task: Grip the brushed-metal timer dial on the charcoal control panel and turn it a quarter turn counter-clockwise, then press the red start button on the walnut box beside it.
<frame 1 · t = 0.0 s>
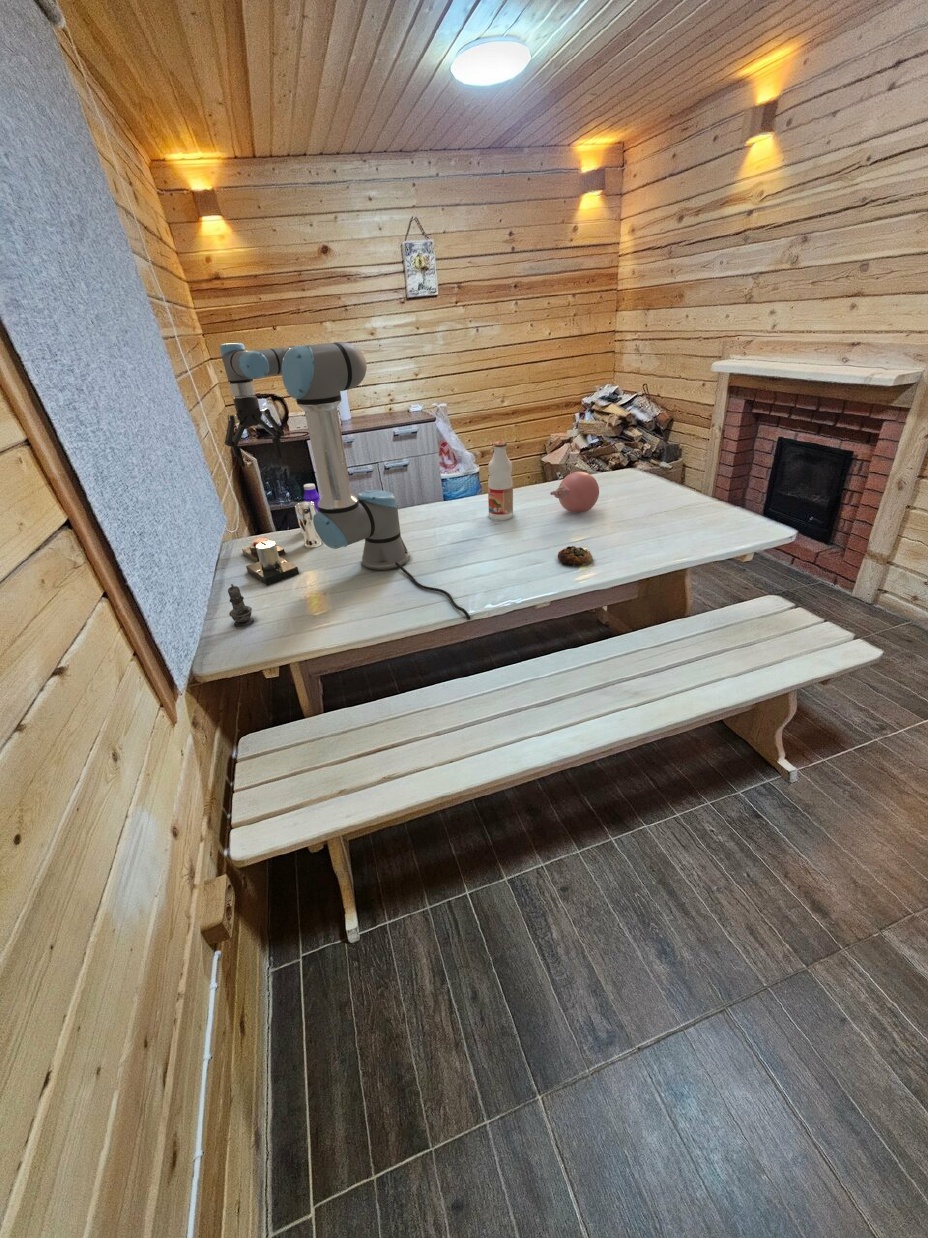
hand: (261, 461, 181), 28 cm above the table, tool pointing down, fingers open, 13 cm apart
balloon: (571, 513, 202), on the table
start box: (264, 554, 182), on the table
bottle: (318, 529, 200), on the table
fruit juice: (500, 516, 202), on the table
timer dial: (268, 555, 165), point 6 cm above the table, hinge at 0.0°
grey ringed upright piece: (244, 623, 143), on the table
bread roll: (575, 560, 166), on the table
start button: (261, 542, 180), point 5 cm above the table, slide at 0.1 cm
timer panel: (273, 573, 169), on the table
beer glass: (313, 544, 188), on the table
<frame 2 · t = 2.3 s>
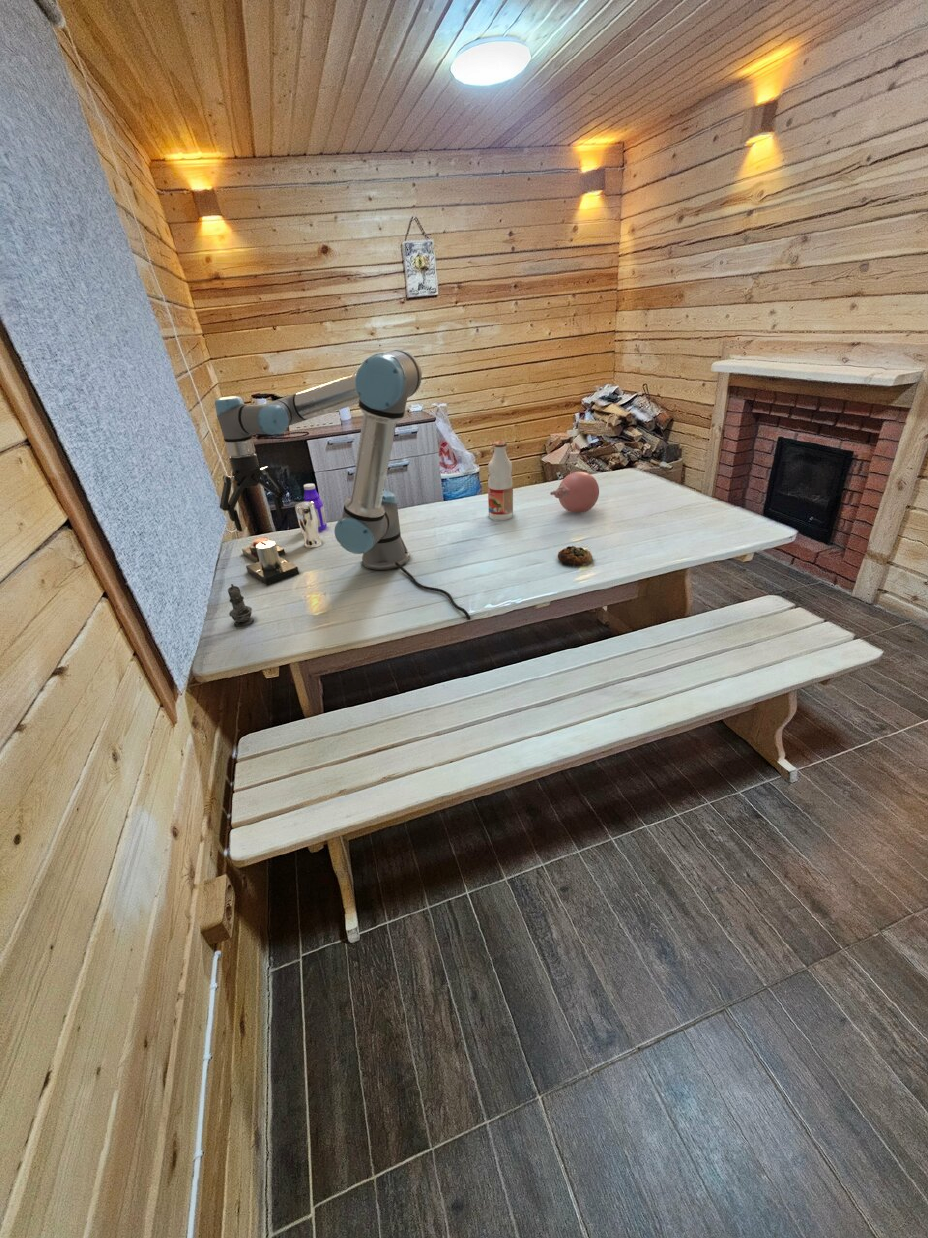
hand: (260, 524, 162), 16 cm above the table, tool pointing down, fingers open, 13 cm apart
nothing on the table moved.
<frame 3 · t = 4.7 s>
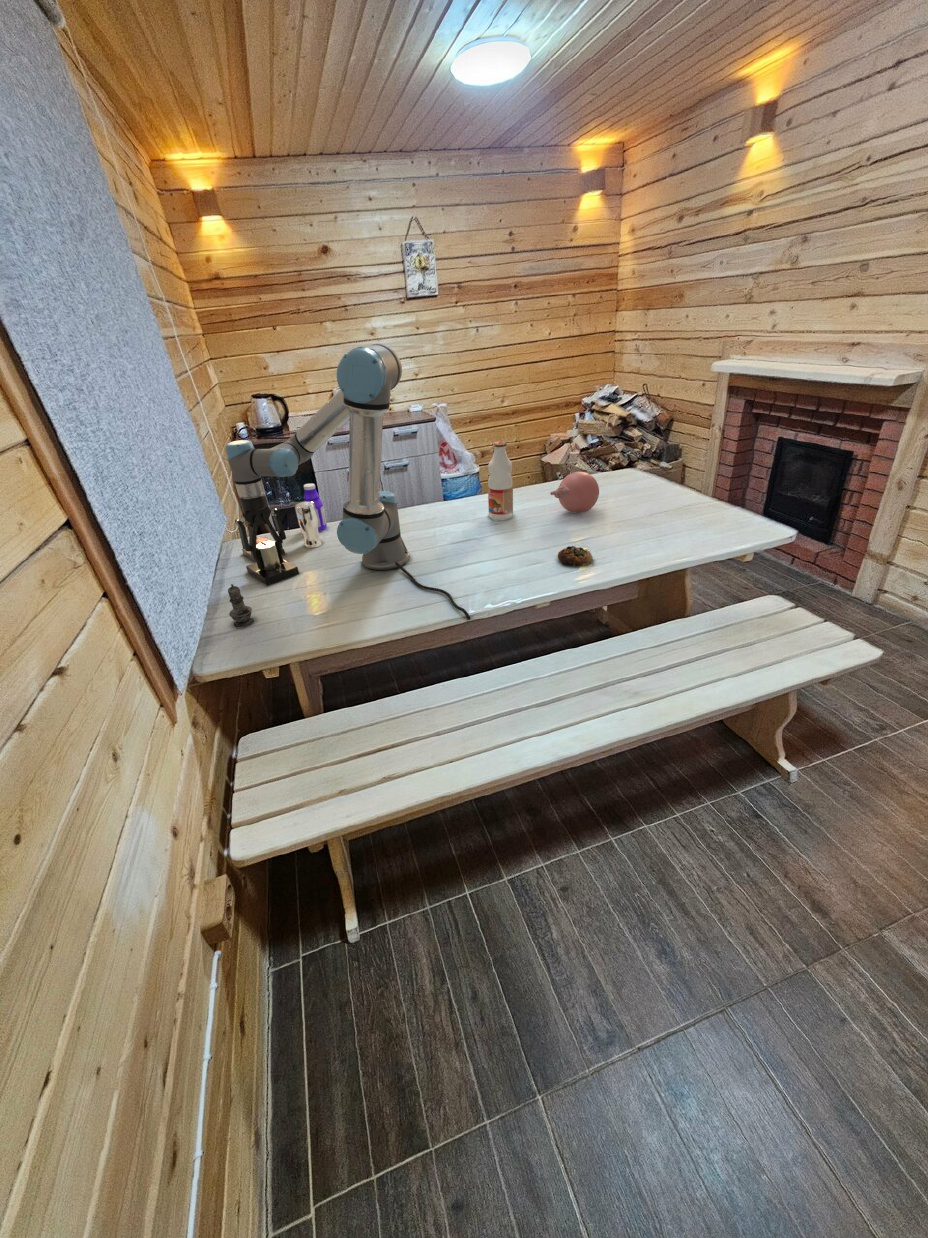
hand: (271, 565, 167), 3 cm above the table, tool pointing down, fingers closed on timer dial, timer panel, 6 cm apart
timer dial: (268, 555, 165), point 6 cm above the table, hinge at 0.0°, touching gripper
everything else where it was.
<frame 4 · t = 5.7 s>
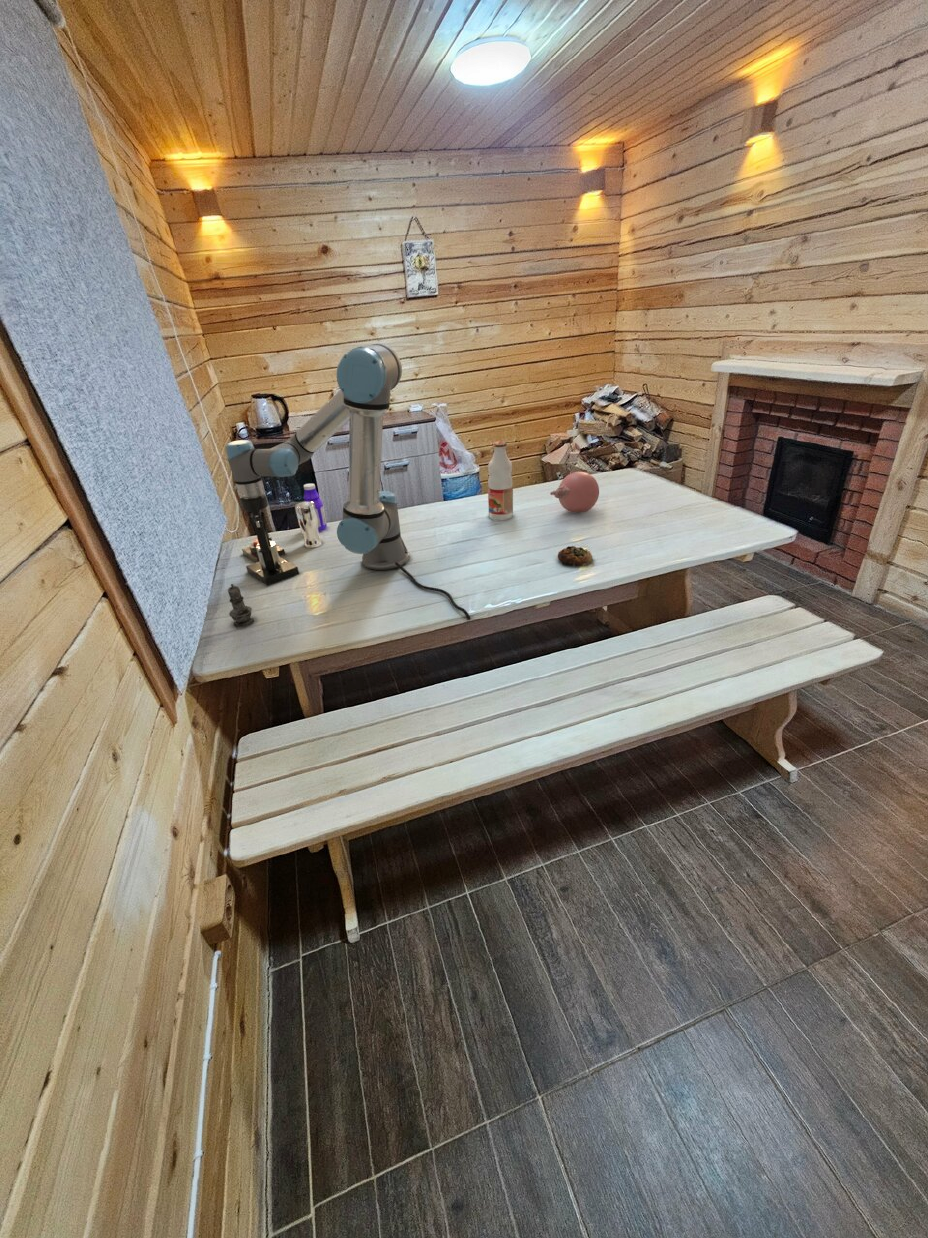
hand: (270, 565, 167), 3 cm above the table, tool pointing down, fingers open, 6 cm apart
timer dial: (268, 555, 165), point 6 cm above the table, hinge at 63.5°
everything else where it was.
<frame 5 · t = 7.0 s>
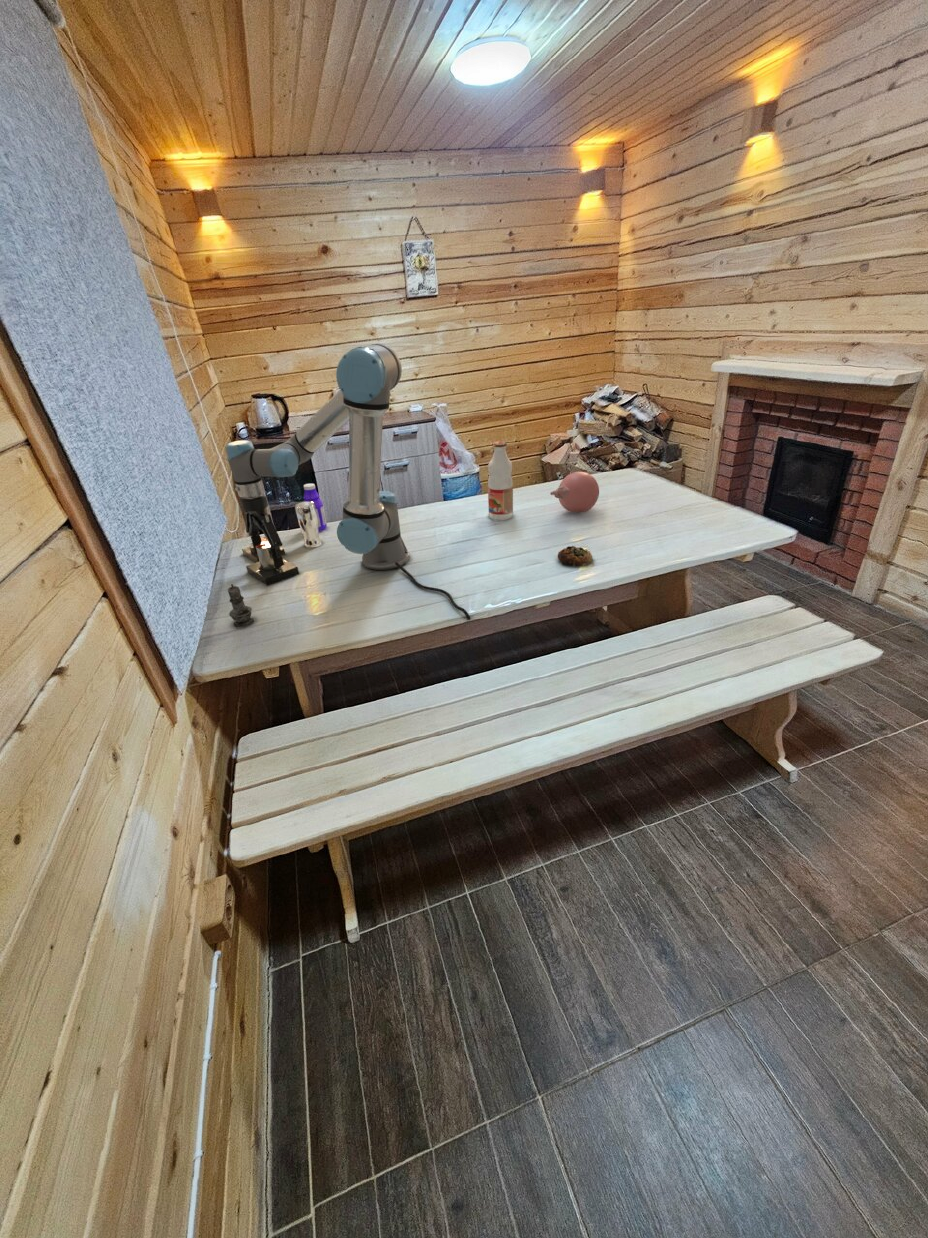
hand: (269, 560, 166), 5 cm above the table, tool pointing down, fingers open, 13 cm apart
timer dial: (268, 555, 165), point 6 cm above the table, hinge at 87.1°
everything else where it was.
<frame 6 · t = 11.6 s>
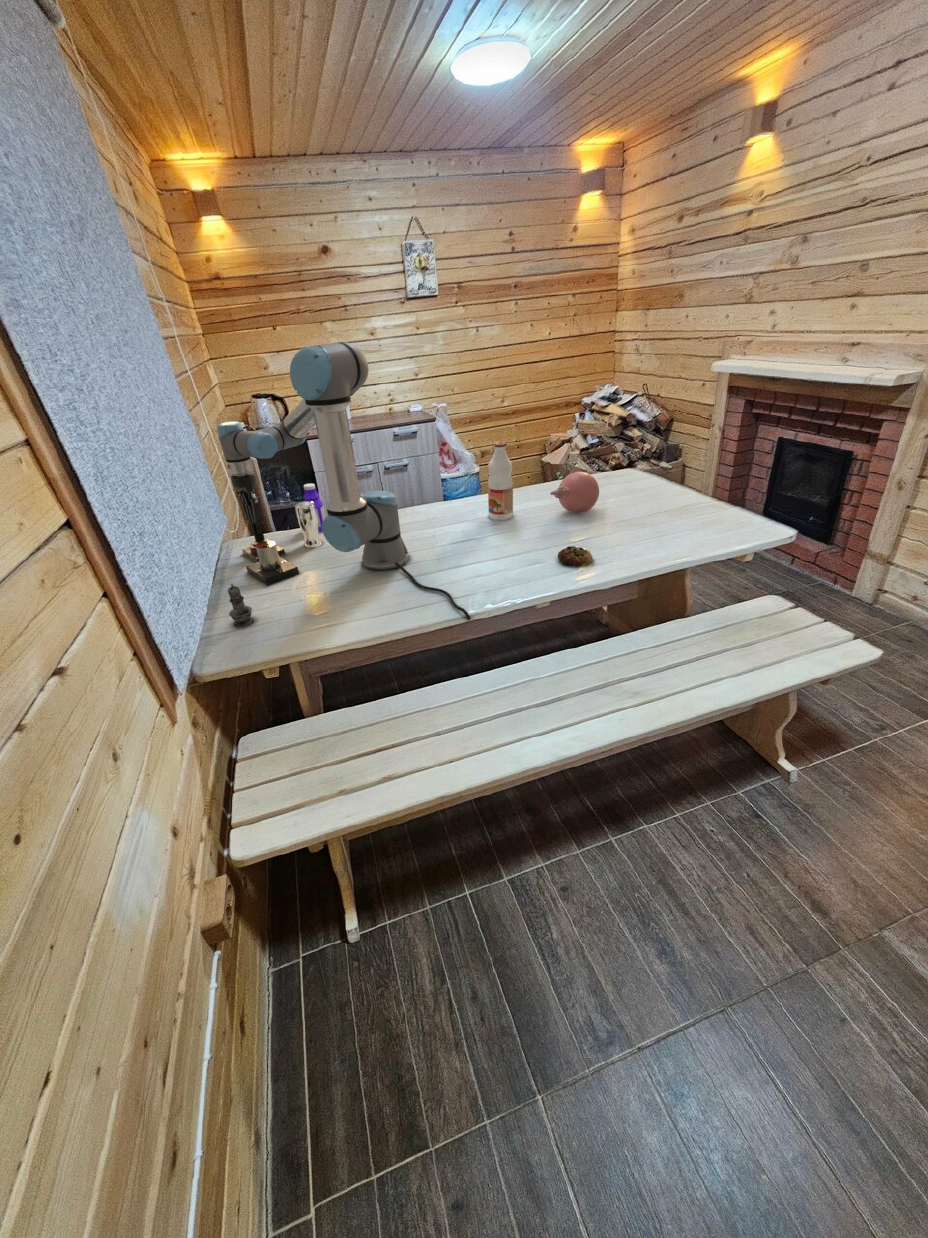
hand: (260, 540, 180), 5 cm above the table, tool pointing down, fingers closed
start button: (261, 544, 180), point 4 cm above the table, slide at -0.6 cm, touching gripper
everything else where it was.
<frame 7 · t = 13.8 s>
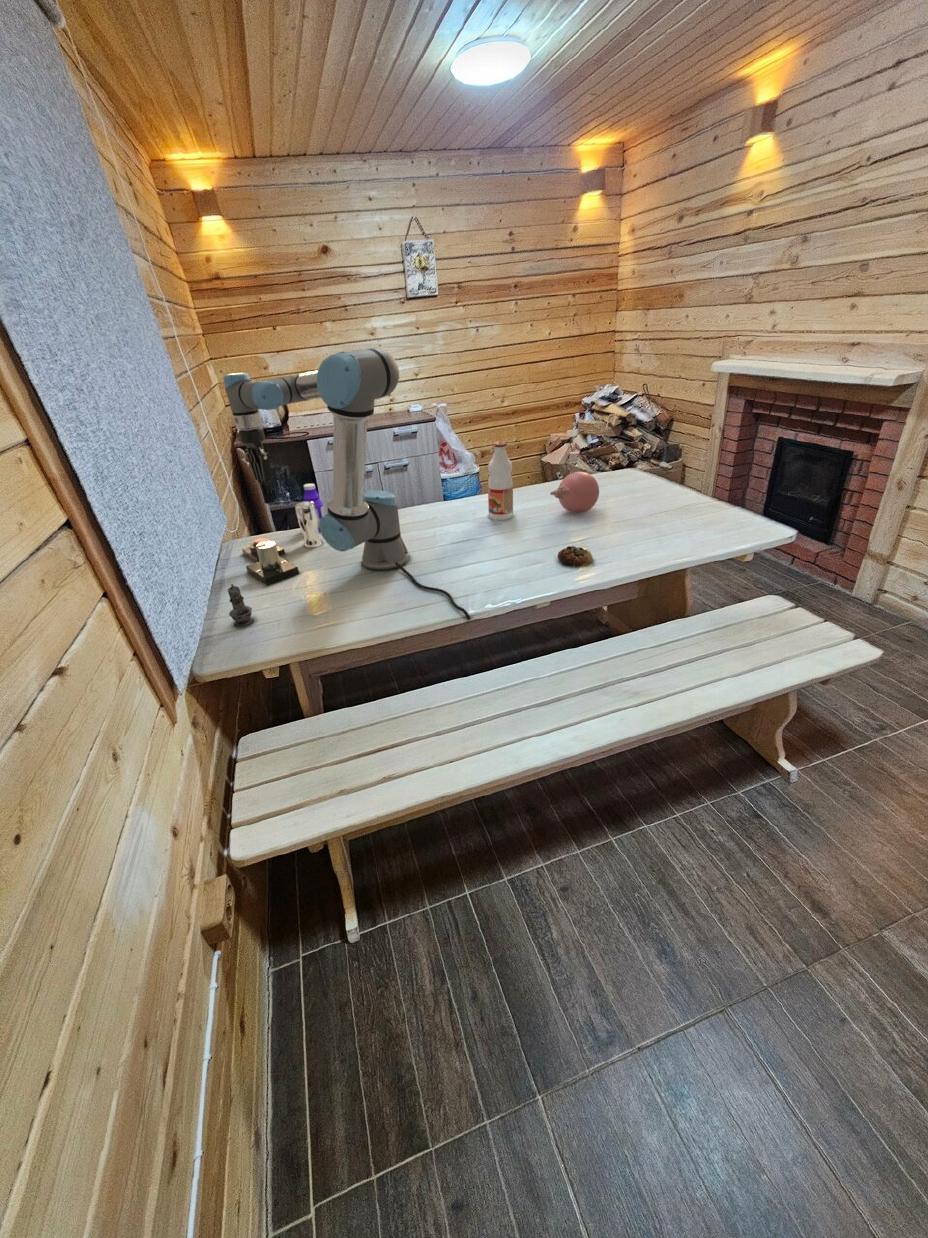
hand: (269, 502, 173), 18 cm above the table, tool pointing down, fingers closed
start button: (261, 542, 180), point 5 cm above the table, slide at 0.1 cm
everything else where it was.
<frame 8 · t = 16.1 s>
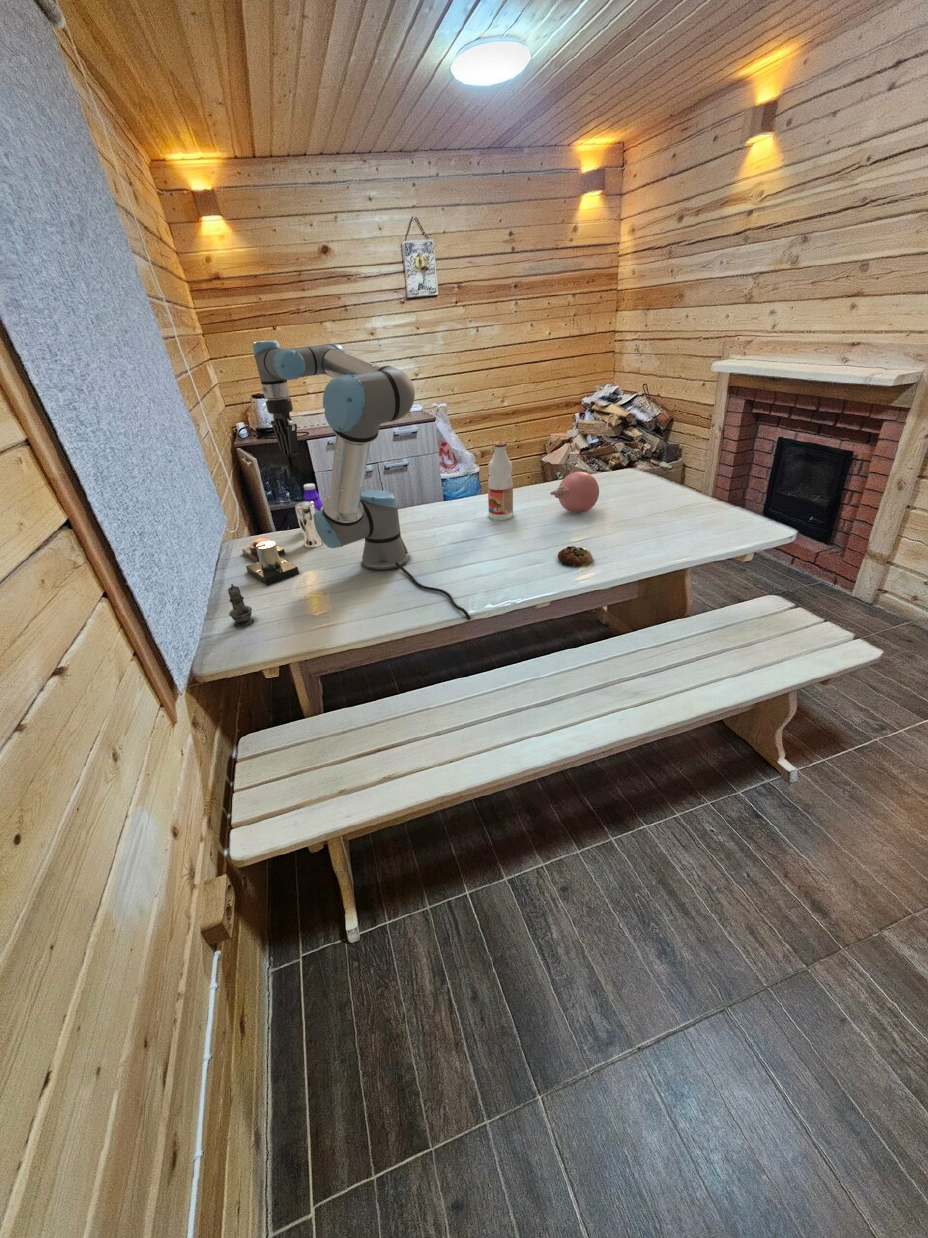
hand: (295, 475, 169), 26 cm above the table, tool pointing down, fingers closed
nothing on the table moved.
at the end: timer dial at +87° (first picture: +0°); start button pushed in 0.9 cm at the most during the clip, back to where it started at the end; start button slide at 0.1 cm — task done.
